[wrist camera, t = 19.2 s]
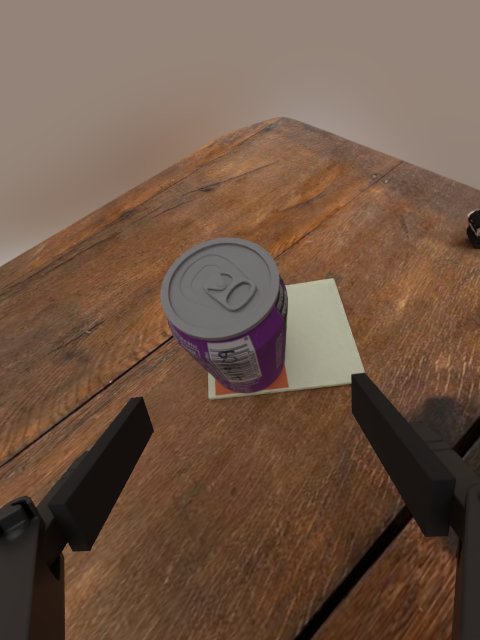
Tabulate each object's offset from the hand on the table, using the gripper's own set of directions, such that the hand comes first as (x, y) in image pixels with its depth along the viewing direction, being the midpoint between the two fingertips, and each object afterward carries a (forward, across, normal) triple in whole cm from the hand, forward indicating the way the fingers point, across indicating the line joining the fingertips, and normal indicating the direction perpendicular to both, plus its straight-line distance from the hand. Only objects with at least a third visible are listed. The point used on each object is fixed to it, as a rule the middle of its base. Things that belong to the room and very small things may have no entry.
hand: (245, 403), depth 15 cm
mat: (+10, +3, 0) cm, 10 cm away
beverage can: (+8, 0, -1) cm, 8 cm away
